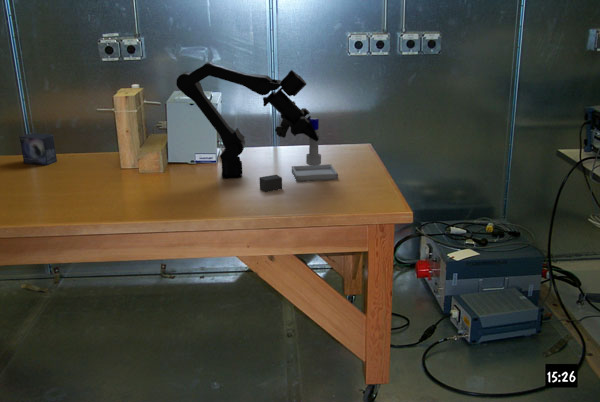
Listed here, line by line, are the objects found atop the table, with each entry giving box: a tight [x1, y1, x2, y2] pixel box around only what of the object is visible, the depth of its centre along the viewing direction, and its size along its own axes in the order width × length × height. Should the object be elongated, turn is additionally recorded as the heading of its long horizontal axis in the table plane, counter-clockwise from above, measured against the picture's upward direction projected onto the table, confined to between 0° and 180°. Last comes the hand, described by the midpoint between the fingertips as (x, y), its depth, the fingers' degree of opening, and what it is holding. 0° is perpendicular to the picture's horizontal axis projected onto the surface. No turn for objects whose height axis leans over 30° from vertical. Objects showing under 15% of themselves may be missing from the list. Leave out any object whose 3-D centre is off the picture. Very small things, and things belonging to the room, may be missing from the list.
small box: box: [19, 132, 58, 166], centre depth 232 cm, size 11×6×10 cm, turn 73°
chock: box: [259, 174, 283, 193], centre depth 200 cm, size 6×4×4 cm, turn 118°
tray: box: [291, 163, 339, 182], centre depth 213 cm, size 14×12×2 cm
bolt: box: [305, 117, 322, 166], centre depth 209 cm, size 16×5×5 cm
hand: (317, 139), depth 209 cm, fingers closed on bolt, 3 cm apart
